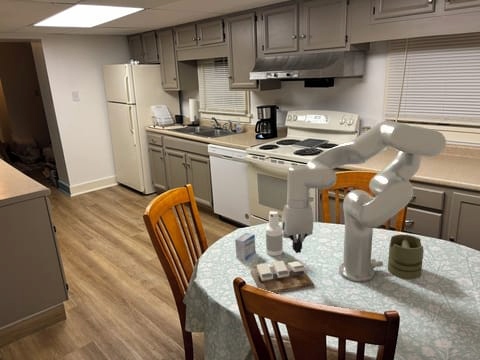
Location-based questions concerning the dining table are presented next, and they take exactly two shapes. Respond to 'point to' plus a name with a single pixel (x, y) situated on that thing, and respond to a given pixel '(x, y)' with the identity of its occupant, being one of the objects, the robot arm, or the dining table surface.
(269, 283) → the switch board
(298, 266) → the rocker
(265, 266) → the block
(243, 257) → the medicine box
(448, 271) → the dining table surface
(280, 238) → the spray bottle
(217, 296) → the dining table surface
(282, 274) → the rocker middle
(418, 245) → the piston
